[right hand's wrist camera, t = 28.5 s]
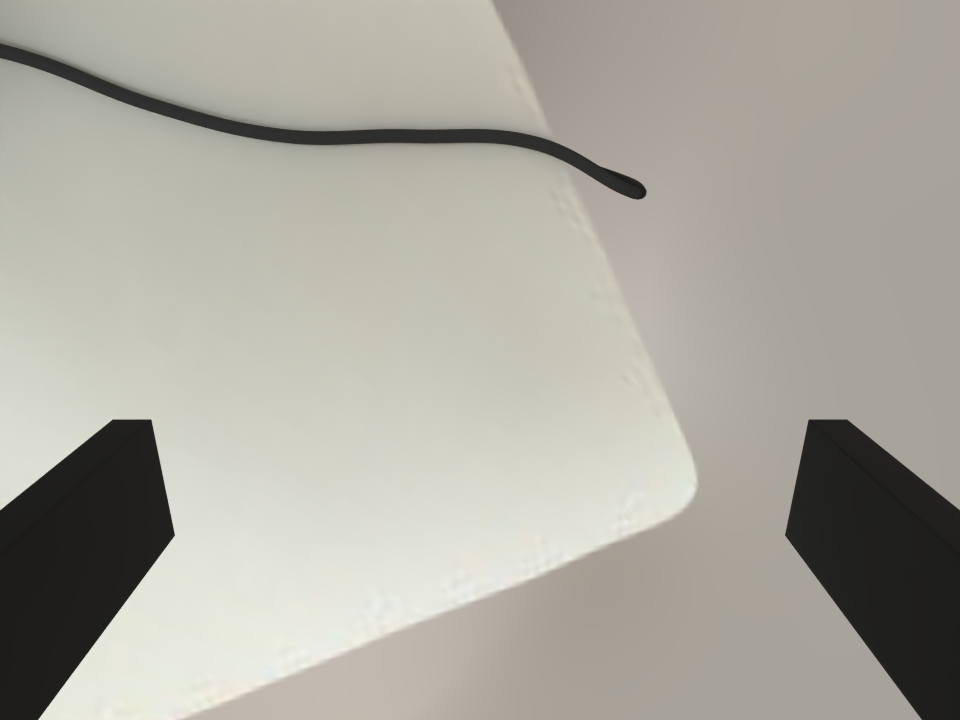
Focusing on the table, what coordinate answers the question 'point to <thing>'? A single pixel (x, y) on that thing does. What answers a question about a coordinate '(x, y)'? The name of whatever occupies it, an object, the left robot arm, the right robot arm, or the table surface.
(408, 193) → the table surface
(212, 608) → the table surface
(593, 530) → the table surface
